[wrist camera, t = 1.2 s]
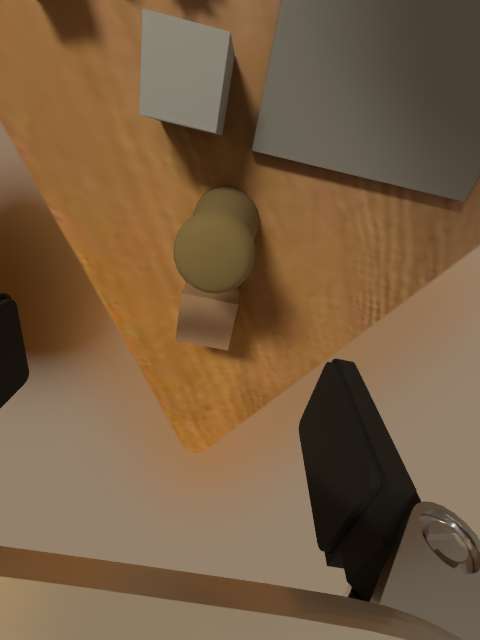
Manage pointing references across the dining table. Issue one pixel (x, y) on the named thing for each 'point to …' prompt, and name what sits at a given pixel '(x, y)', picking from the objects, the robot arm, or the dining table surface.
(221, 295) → the walnut block
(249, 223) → the olive lobed rounded piece
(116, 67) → the dining table surface
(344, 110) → the mat
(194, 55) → the slate-grey block
